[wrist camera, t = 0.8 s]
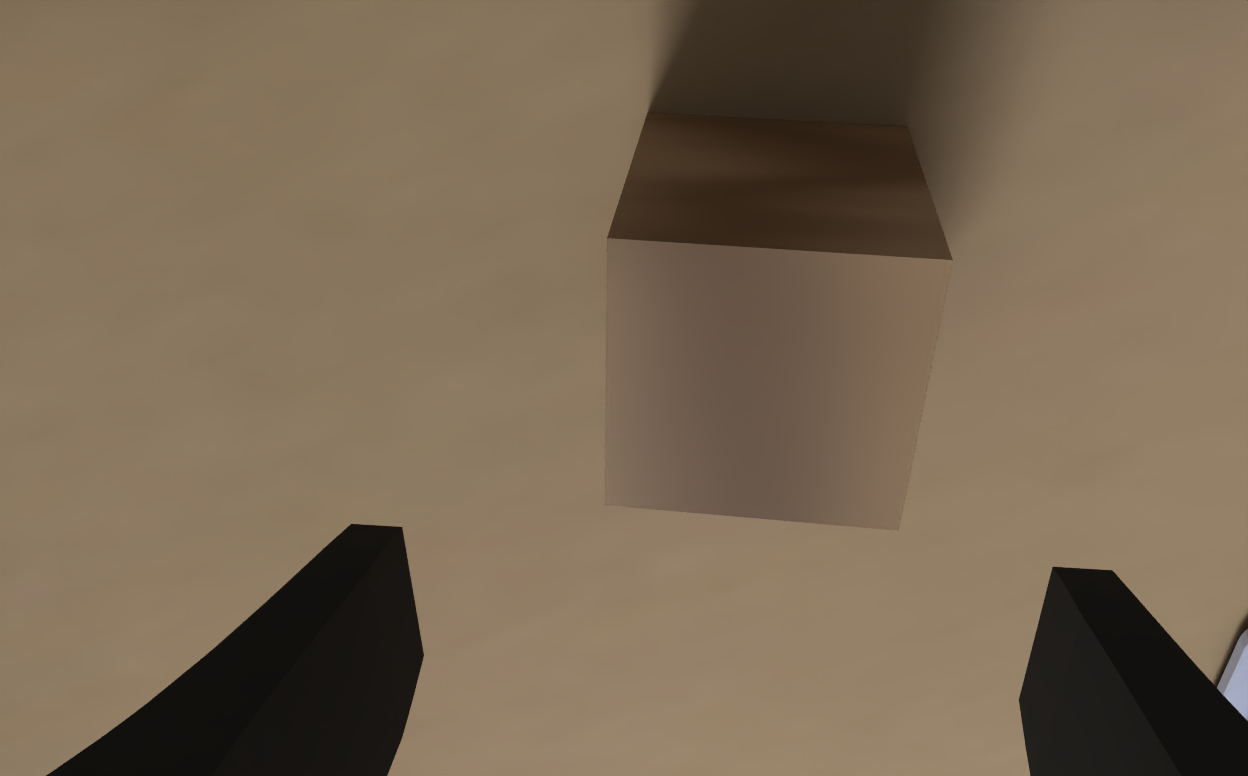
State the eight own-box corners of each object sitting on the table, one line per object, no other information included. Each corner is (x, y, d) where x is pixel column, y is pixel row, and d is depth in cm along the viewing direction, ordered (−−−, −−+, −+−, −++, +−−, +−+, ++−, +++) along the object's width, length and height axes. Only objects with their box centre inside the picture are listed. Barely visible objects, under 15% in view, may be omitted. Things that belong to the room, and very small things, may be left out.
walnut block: (906, 125, 18) (952, 260, 14) (870, 350, 21) (898, 530, 16) (648, 112, 19) (606, 238, 14) (641, 334, 21) (604, 504, 16)
